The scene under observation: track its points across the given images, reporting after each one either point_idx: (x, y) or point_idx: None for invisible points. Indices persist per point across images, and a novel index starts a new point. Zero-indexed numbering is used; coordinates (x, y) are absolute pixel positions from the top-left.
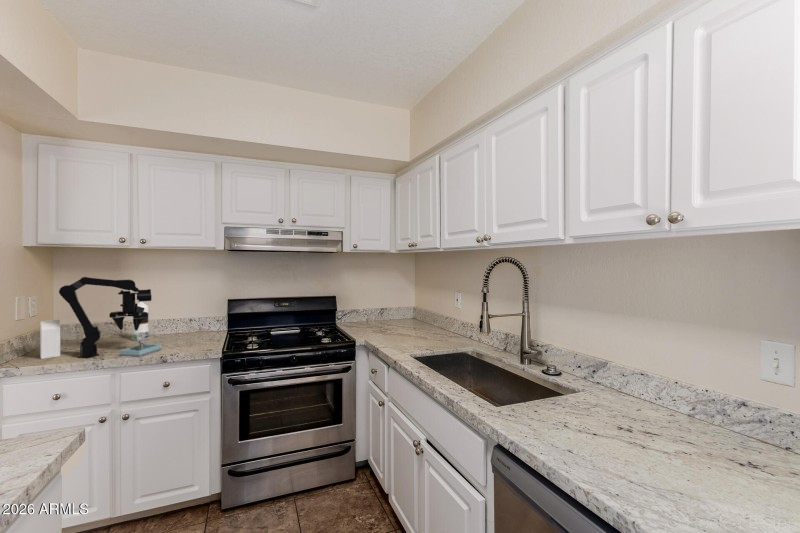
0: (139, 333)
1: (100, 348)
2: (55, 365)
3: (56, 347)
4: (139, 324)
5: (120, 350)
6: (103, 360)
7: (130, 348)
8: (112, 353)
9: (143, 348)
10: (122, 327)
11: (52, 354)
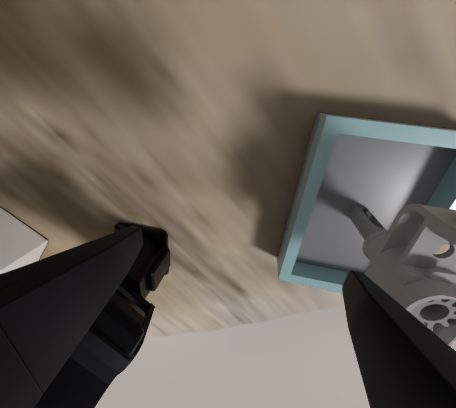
0: (411, 312)
1: (30, 87)
2: (154, 328)
3: (7, 271)
4: (451, 359)
5: (280, 279)
6: (252, 302)
7: (302, 236)
8: (197, 203)
9: (337, 144)
10: (124, 244)
11: (32, 258)
